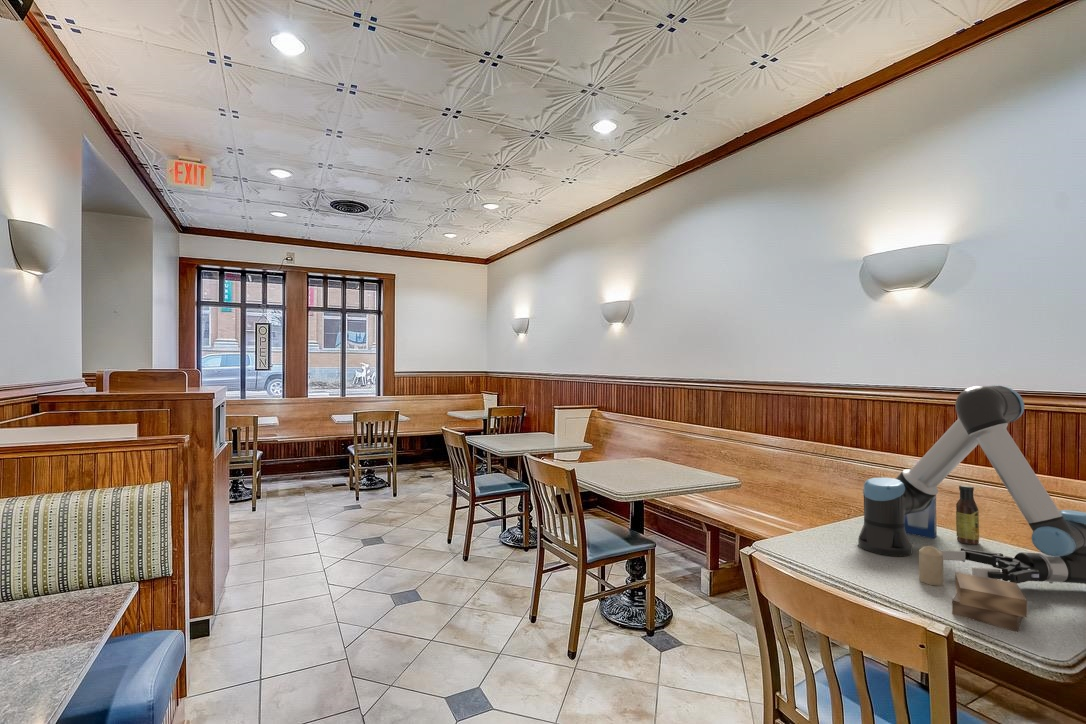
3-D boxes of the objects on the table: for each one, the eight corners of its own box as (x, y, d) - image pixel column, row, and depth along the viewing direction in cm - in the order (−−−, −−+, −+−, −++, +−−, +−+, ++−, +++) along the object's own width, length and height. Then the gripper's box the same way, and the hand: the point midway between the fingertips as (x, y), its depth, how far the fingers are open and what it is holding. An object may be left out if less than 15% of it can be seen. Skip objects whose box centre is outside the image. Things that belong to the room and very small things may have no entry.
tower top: (960, 604, 125) (960, 587, 125) (955, 587, 135) (955, 572, 135) (1026, 617, 118) (1026, 600, 118) (1016, 598, 128) (1016, 583, 128)
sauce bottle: (981, 546, 176) (980, 489, 177) (958, 543, 180) (957, 486, 180) (977, 541, 182) (976, 485, 182) (955, 538, 185) (954, 483, 186)
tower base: (952, 616, 127) (952, 600, 127) (961, 601, 135) (960, 586, 136) (1017, 634, 118) (1017, 617, 119) (1022, 618, 127) (1022, 601, 127)
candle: (947, 586, 143) (947, 551, 144) (925, 585, 144) (925, 549, 145) (936, 578, 149) (936, 544, 149) (915, 577, 150) (915, 543, 150)
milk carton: (936, 534, 189) (936, 480, 190) (934, 538, 185) (933, 483, 185) (904, 528, 196) (903, 476, 197) (901, 532, 192) (900, 479, 192)
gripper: (1080, 600, 130) (988, 595, 133) (1004, 563, 155) (928, 560, 158) (1079, 570, 130) (988, 566, 133) (1004, 539, 155) (928, 536, 158)
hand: (955, 563), depth 145 cm, fingers open, 13 cm apart
